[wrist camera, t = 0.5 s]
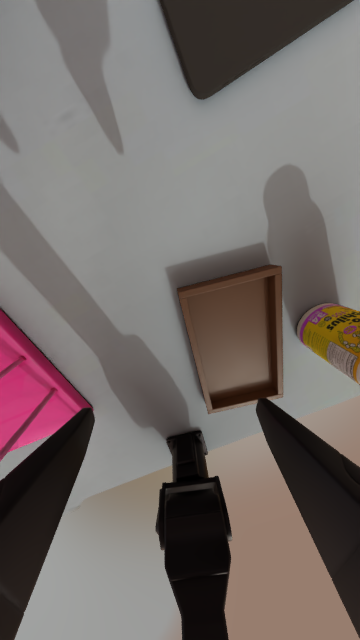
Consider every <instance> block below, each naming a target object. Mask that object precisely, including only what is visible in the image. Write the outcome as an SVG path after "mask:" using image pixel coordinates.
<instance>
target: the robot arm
mask: <svg viewBox="0 0 360 640" xmlns="http://www.w3.org/2000/svg"><path fill="white" fill-rule="evenodd" d="M256 413H257V416H258V419H259V422H260V424H261V427H262V430H263V432H264V435H265V438H266V441H267V443H268V445H269V448H270V450H271V452H272V454H273V456H274V458H275V460H276V462H277V465H278V467H279V469H280V471H281V473H282V475H283V477H284V479H285V481H286V484H287V486H288V488H289V490H290V492H291V494H292V496H293V498H294V500H295V503H296V505H297V507H298V509H299V511H300V513H301V515H302V517H303V519H304V522H305V524H306V526H307V528H308V530H309V532H310V534H311V536H312V538H313V540H314V543H315V545H316V547H317V549H318V551H319V553H320V555H321V557H322V560H323V562H324V564H325V566H326V568H327V570H328V572H329V574H330V576H331V578H332V581H333V583H334V585H335V587H336V589H337V591H338V594H339V596H340V598H341V600H342V602H343V604H344V606H345V608H346V611H347V613H348V615H349V617H350V619H351V621H352V623H353V625H354V627H355V630H356V632H357V634H358V636H359V638H360V467H359V466H357V465H356V464H354V463H353V462H352V461H350V460H349V459H348V458H346V457H345V456H344V455H342V454H340V453H339V452H338V451H337V450H336V449H334V448H333V447H331V446H330V445H329V444H327V443H326V442H325V441H323V440H322V439H321V438H319V437H318V436H317V435H315V434H314V433H313V432H311V431H310V430H309V429H307V428H306V427H305V426H303V425H302V424H300V423H299V422H298V421H297V420H295V419H294V418H293V417H291V416H290V415H289V414H287V413H286V412H285V411H283V410H282V409H281V408H279V407H278V406H277V405H275V404H274V403H273V402H271V401H270V400H269V399H267V398H259V399H258V401H257V406H256ZM94 422H95V417H94V414H93V410H92V408H91V407H86V408H82V409H81V410H80V411H79V412H78V413H76V414H75V415H74V416H73V417H72V418H71V419H70V420H69V421H67V422H66V423H65V424H64V425H63V426H62V427H61V428H60V429H58V430H57V431H56V432H55V433H54V434H53V435H52V436H51V437H49V438H48V439H47V440H46V441H45V442H44V443H43V444H42V445H40V446H39V447H38V448H37V449H36V450H35V451H34V452H33V453H31V454H30V455H29V456H28V457H27V458H26V459H25V460H23V461H22V462H21V463H20V464H19V465H18V466H17V467H16V468H14V469H13V470H12V471H11V472H10V473H9V474H8V475H7V476H6V477H5V478H3V479H2V480H1V481H0V640H14V639H15V636H16V634H17V631H18V628H19V626H20V623H21V621H22V618H23V615H24V612H25V610H26V607H27V605H28V602H29V600H30V597H31V594H32V592H33V589H34V587H35V584H36V581H37V579H38V576H39V574H40V571H41V569H42V566H43V563H44V561H45V558H46V556H47V553H48V550H49V548H50V545H51V543H52V540H53V537H54V535H55V532H56V530H57V527H58V524H59V522H60V519H61V517H62V514H63V512H64V509H65V506H66V504H67V501H68V499H69V496H70V494H71V491H72V488H73V486H74V483H75V481H76V478H77V475H78V473H79V470H80V468H81V465H82V462H83V460H84V457H85V454H86V451H87V447H88V444H89V440H90V437H91V433H92V430H93V426H94ZM167 445H168V447H169V449H170V452H171V454H172V466H173V482H171V483H166V482H165V483H163V484H162V489H160V496H159V508H158V514H157V521H156V532H157V534H158V535H159V541H160V547H161V550H165V569H166V572H167V575H168V578H169V581H170V584H171V587H172V590H173V593H174V596H175V599H176V602H177V605H178V607H179V611H180V614H181V618H182V640H228V633H227V626H226V619H225V613H224V609H225V601H226V594H227V587H228V579H229V571H230V563H231V555H230V549H229V544H228V541H232V534H231V527H230V522H229V517H228V512H227V508H226V503H225V500H224V496H223V492H222V488H221V484H220V480H219V477H218V476H215V477H211V478H209V477H208V471H207V466H206V459H205V455H207V454H208V452H207V448H206V445H205V441H204V438H203V434H202V432H201V431H196V432H192V433H187V434H183V435H178V436H174V437H170V438H167Z"/></svg>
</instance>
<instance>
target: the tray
mask: <svg viewBox="0 0 360 640" xmlns="http://www.w3.org/2000/svg"><path fill="white" fill-rule="evenodd" d="M281 273H282V267H281V266H277V265H267V266H263V267H259V268H255V269H252V270H248V271H244V272H240V273H236V274H232V275H228V276H224V277H220V278H216V279H212V280H209V281H205V282H201V283H197V284H193V285H189V286H185V287H181V288H177V292H178V296H179V300H180V304H181V308H182V312H183V316H184V320H185V324H186V328H187V331H188V335H189V339H190V343H191V347H192V351H193V355H194V359H195V363H196V367H197V371H198V375H199V379H200V383H201V387H202V391H203V395H204V399H205V403H206V407H207V410H208V414H211V413H216V412H220V411H225V410H229V409H233V408H238V407H242V406H247V405H251V404H256V403H257V401H258V399H259V398H267V399H269V400H273V399H278V398H282V397H283V339H282V274H281Z"/></svg>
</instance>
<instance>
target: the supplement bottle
mask: <svg viewBox="0 0 360 640" xmlns="http://www.w3.org/2000/svg"><path fill="white" fill-rule="evenodd" d="M297 335H298V338H299V340H300V342H301V343H302V344H303V345H305V346H306V347H307V348H309V349H310V350H312V351H313V352H314V353H316V354H317V355H319V356H320V357H321V358H323V359H324V360H326V361H327V362H328V363H330V364H331V365H333V366H334V367H336V368H337V369H338V370H340V371H341V372H343V373H344V374H345V375H347V376H348V377H350V378H351V379H352V380H354V381H355V382H357V383H358V384H359V385H360V312H359V311H356V310H353V309H350V308H347V307H344V306H341V305H338V304H334V303H325V304H321V305H318V306H315V307H313V308H312V309H310V310H309V311H307V312H306V313H305V314H304V315H303V317H302V318H301V320H300V321H299V324H298V327H297Z"/></svg>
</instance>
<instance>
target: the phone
mask: <svg viewBox="0 0 360 640" xmlns="http://www.w3.org/2000/svg"><path fill="white" fill-rule="evenodd" d="M352 1H353V0H160V3H161V6H162V9H163V12H164V15H165V18H166V20H167V23H168V26H169V29H170V32H171V35H172V38H173V41H174V44H175V47H176V50H177V53H178V56H179V58H180V61H181V64H182V67H183V70H184V73H185V76H186V79H187V82H188V84H189V87H190V90H191V92H192V93H193V95H194V96H195V97H196V98H198V99H206V98H209V97H210V96H212V95H213V94H215V93H216V92H218V91H219V90H221V89H222V88H224V87H225V86H227V85H228V84H230V83H231V82H233V81H234V80H236V79H237V78H239V77H240V76H242V75H243V74H245V73H246V72H248V71H249V70H251V69H252V68H254V67H255V66H257V65H258V64H260V63H261V62H263V61H264V60H266V59H267V58H269V57H270V56H272V55H273V54H274V53H276V52H277V51H279V50H280V49H282V48H283V47H285V46H286V45H288V44H289V43H291V42H292V41H294V40H295V39H297V38H298V37H300V36H301V35H303V34H304V33H306V32H307V31H309V30H310V29H312V28H313V27H315V26H316V25H318V24H319V23H321V22H322V21H324V20H325V19H327V18H328V17H330V16H331V15H333V14H334V13H336V12H337V11H339V10H340V9H341V8H343V7H344V6H346V5H347V4H349V3H350V2H352Z"/></svg>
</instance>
